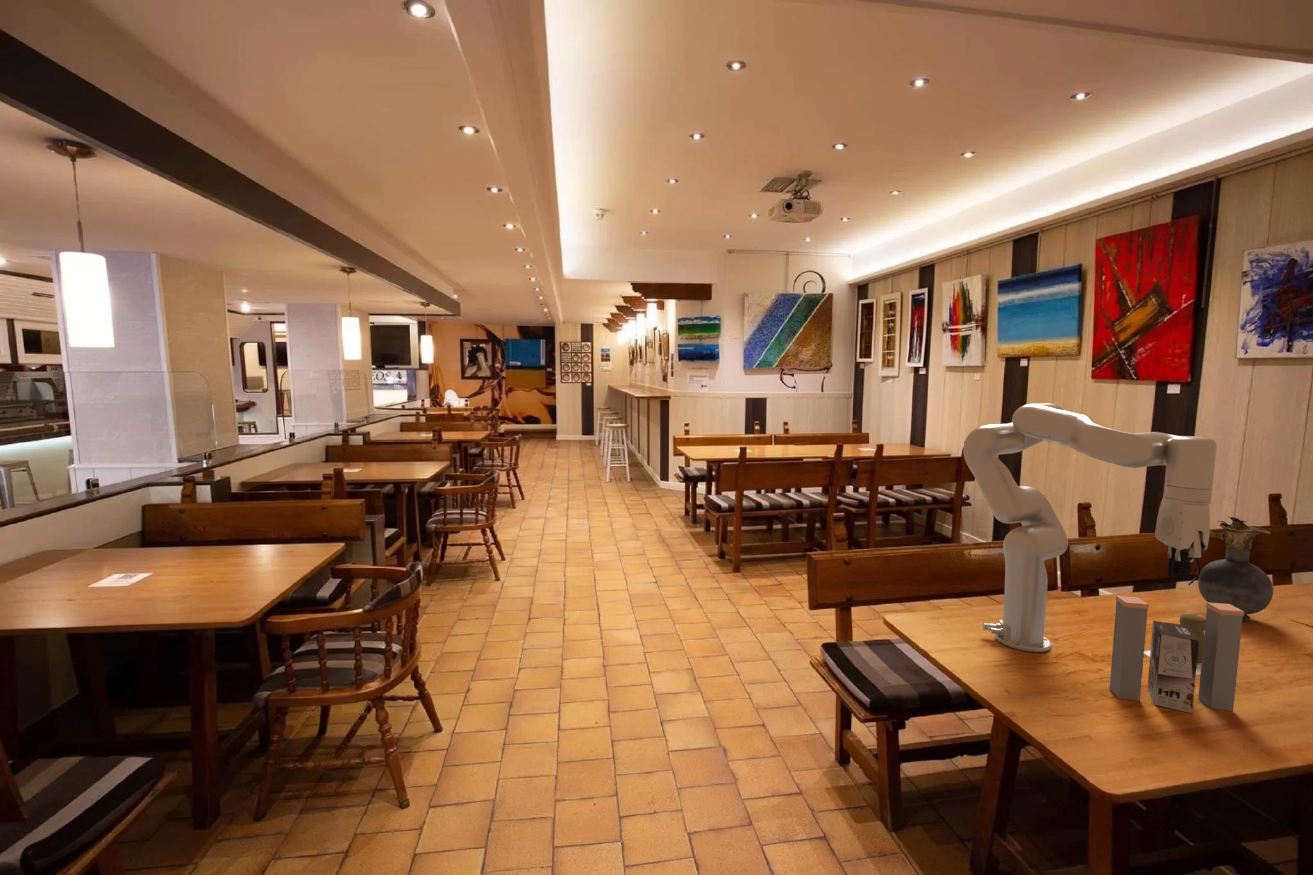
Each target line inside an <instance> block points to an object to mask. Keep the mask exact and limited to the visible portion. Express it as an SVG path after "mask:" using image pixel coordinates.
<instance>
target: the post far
mask: <svg viewBox="0 0 1313 875" xmlns="http://www.w3.org/2000/svg"><path fill="white" fill-rule="evenodd" d="M1205 604H1206V606H1205V607H1206V614H1205V619H1206V623H1205V631H1204V644H1203V654H1202V663H1201V664H1200V665H1201V667H1200V675H1199V676H1200V677H1199V687H1198V696H1197V697H1198V700H1199V701H1200V702H1202V703H1203V705H1206V706H1207V707H1208V708H1209V709H1212V710H1220V711H1230V712H1233V711H1234V707H1235V706H1234V705H1235V696H1236V695H1235V694H1236V685H1237V676H1238V669H1239V668H1238V666H1239V657H1240V656H1239V655H1240V647H1241V638H1242V628H1243V626H1242V625H1243V621H1242V619H1243V616H1244V611H1242V610H1240V609H1238V608H1236V607H1234V606H1233V605H1231V604H1222V603H1209V602H1207V601H1206V603H1205Z"/></svg>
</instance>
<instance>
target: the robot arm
mask: <svg viewBox="0 0 1313 875" xmlns="http://www.w3.org/2000/svg"><path fill="white" fill-rule="evenodd" d="M1011 418H1012V419H1011V422H1008V423H995V424H994V423H993V424H985V425H984V424H983V425H981V426H978V427H976V428H974V429H973V430H972V431H970V432H969V434H968V435H967V437H965V441H964V443H963V449H962V450H963V451H962V452H963V457H964V461H965V464H966V465H967V467H968V469H969V470H970V473H972V475H973V477H974V478H975V481H976V483H977V485H978V488H979V489H980V491H981V493H982V495H983V497H984V499H985V500H986V503H987V505H988V507H989V509H990V511H991V513H992V515H993V516H994V518H995V519H996V520H997V521H999V522H1000V523H1003V524H1017V523H1020V524H1021V525H1022V526H1019V527H1015V528H1013V529H1012V530H1010V531H1009V532H1008V533H1007V534H1006V535H1005V537H1004V539H1003V543H1002V544H1003V545H1002V548H1003V554H1004V555H1003V556H1004V561H1005V562H1004V565H1005V574H1004V575H1005V576H1004V594H1003V595H1004V596H1003V610H1002V613H1003V614H1002V619H998V622H995V623H990V622H989V623H988V622H982V624H981V625H982V630H983V631H990V633H991V634H995V635H994V636H995V639H996V640H997V641H998V642H999V643H1001V644H1003V646H1004V645H1005V646H1007V647H1009V648H1012V649H1014V650H1019V651H1024V652H1028V653H1029V652H1031V653H1042V652H1043V653H1044V652H1047V651H1049V650H1050V649H1051V648H1052V647H1051V644H1052V643H1051V641H1050V640H1049V639H1048V638H1047V637H1046V636H1045V628H1046V614H1047V612H1046V611H1047V595H1048V573H1047V569H1046V567H1045V561H1046V560H1047V561H1048V560H1050V559H1055V558H1057V557H1059V556H1061V555H1063V554H1064V553H1065V552H1066V551H1067V549H1068V546H1069V541H1068V536H1067V533H1066V531H1065V528H1064V526H1062V523H1061V521H1060V519H1059V518H1058V516H1057V514H1056V512H1055V510H1054V509H1053V507H1052V505H1051V503H1050V502H1049V500H1048V498H1047V497H1046V496H1045V495H1044V493H1043V492H1041V490H1039V489H1038V488H1035V487H1033V486H1029V485H1028V486H1027V485H1021V486H1019V485H1018V484H1017V482H1016V480H1015V479H1014V477H1013V476H1012V473H1011V471H1010V470H1009V468H1008V467H1007V466H1006V465H1005V463H1004V462H1002V461H1001V460H1000V459H999V457H998V455H999V456H1000V455H1008V454H1015V453H1020V452H1022V451H1024V450H1027V449H1029V448H1031V447H1032V446H1035V445H1038V444H1040V443H1041V442H1044V441H1046V442H1048V443H1053V444H1056V445H1059V446H1063V447H1066V448H1069V449H1073V450H1075V451H1076V452H1078V453H1080V454H1083V455H1085V456H1086V457H1090V458H1092V459H1096V460H1099V461H1102V462H1106V463H1109V464H1113V465H1117V466H1121V467H1124V468H1131V469H1132V468H1133V469H1136V468H1137V469H1138V468H1145V467H1155V466H1165V476H1164V484H1163V485H1164V486H1163V495H1162V499H1161V502H1160V504H1159V509H1158V514H1157V518H1156V525H1155V533H1154V537H1155V538H1156V539H1157V540H1158V541H1160V542H1161V543H1163V544H1164V546H1166V548H1167V556H1168V558H1169V559H1168V563H1167V564H1168V566H1167V576H1168V577H1170V578H1172V579H1175V580H1190V576H1191V568H1192V563H1193V562H1194V560H1193V559H1194V558H1197V559H1200V558H1202V552H1203V551H1206V550H1207V549H1208V547H1209V546H1208V545H1209V540H1210V536H1209V532H1210V531H1211V530H1210V529H1211V528H1210V527H1211V524H1210V523H1211V520H1210V519H1211V518H1210V517H1211V513H1210V505H1211V502H1212V495H1213V494H1212V493H1213V484H1214V474H1215V467H1216V458H1217V446H1218V445H1217V442H1216V441H1215V440H1214V439H1213V438H1210V437H1205V436H1194V435H1193V436H1192V435H1176V434H1175V435H1174V434H1169V433H1165V432H1159V431H1148V432H1135V433H1131V432H1126V431H1122V430H1116V429H1114V428H1109V427H1105V426H1102V425H1099V424H1096V423H1095V422H1093V420H1092V419H1091V417H1090V416H1088V415H1087V414H1082V413H1076V412H1072V411H1068V410H1064V408H1063V407H1061V406H1060V405H1057V404H1054V403H1051V402H1045V403H1043V402H1042V403H1029V404H1027V403H1026V404H1024V405H1021V406H1020V407H1018V408H1017V409H1016V410H1015V411H1014V412H1013V414H1012V417H1011Z"/></svg>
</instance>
